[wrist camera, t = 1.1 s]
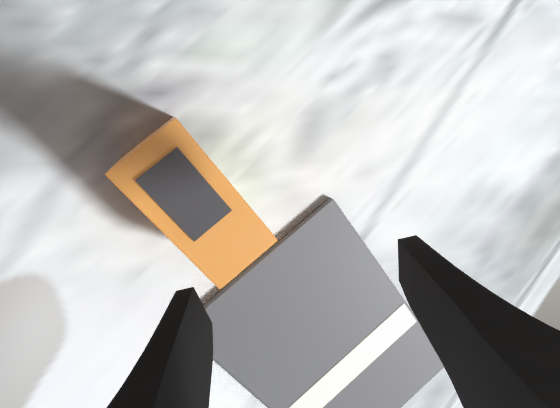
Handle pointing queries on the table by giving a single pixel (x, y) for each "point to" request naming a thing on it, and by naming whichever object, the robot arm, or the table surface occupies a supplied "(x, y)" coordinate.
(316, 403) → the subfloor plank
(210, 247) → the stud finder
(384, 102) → the table surface
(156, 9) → the table surface
